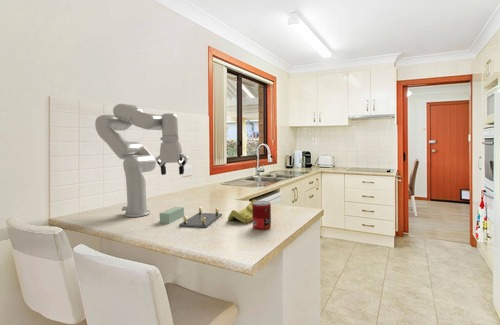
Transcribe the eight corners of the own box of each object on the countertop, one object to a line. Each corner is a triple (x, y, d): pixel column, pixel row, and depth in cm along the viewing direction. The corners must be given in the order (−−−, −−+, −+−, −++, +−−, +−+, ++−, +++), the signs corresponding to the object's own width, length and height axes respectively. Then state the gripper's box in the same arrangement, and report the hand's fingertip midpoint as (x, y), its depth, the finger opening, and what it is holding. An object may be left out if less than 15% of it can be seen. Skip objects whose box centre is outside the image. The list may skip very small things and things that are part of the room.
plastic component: (247, 219, 133) (230, 208, 138) (242, 232, 136) (226, 221, 140) (267, 207, 150) (252, 197, 154) (262, 219, 153) (247, 209, 157)
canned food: (268, 230, 123) (267, 204, 122) (250, 229, 126) (249, 203, 125) (273, 225, 130) (272, 201, 130) (256, 224, 133) (255, 200, 132)
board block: (159, 223, 139) (159, 213, 139) (175, 216, 152) (175, 206, 152) (169, 224, 138) (168, 213, 137) (184, 216, 151) (183, 207, 151)
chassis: (179, 226, 132) (178, 217, 132) (198, 214, 154) (198, 207, 154) (206, 227, 129) (206, 218, 129) (222, 215, 151) (221, 207, 151)
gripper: (150, 140, 142) (152, 175, 143) (183, 138, 137) (184, 174, 138) (159, 140, 149) (161, 173, 150) (190, 138, 145) (192, 173, 146)
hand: (172, 174), depth 144 cm, fingers open, 9 cm apart
